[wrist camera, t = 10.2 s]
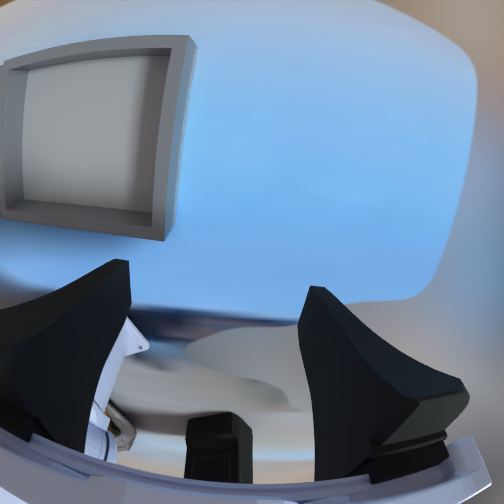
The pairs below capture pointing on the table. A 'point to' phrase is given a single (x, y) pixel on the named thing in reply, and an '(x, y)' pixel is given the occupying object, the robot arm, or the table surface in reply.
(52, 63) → the case
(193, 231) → the table surface
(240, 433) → the portable radio
